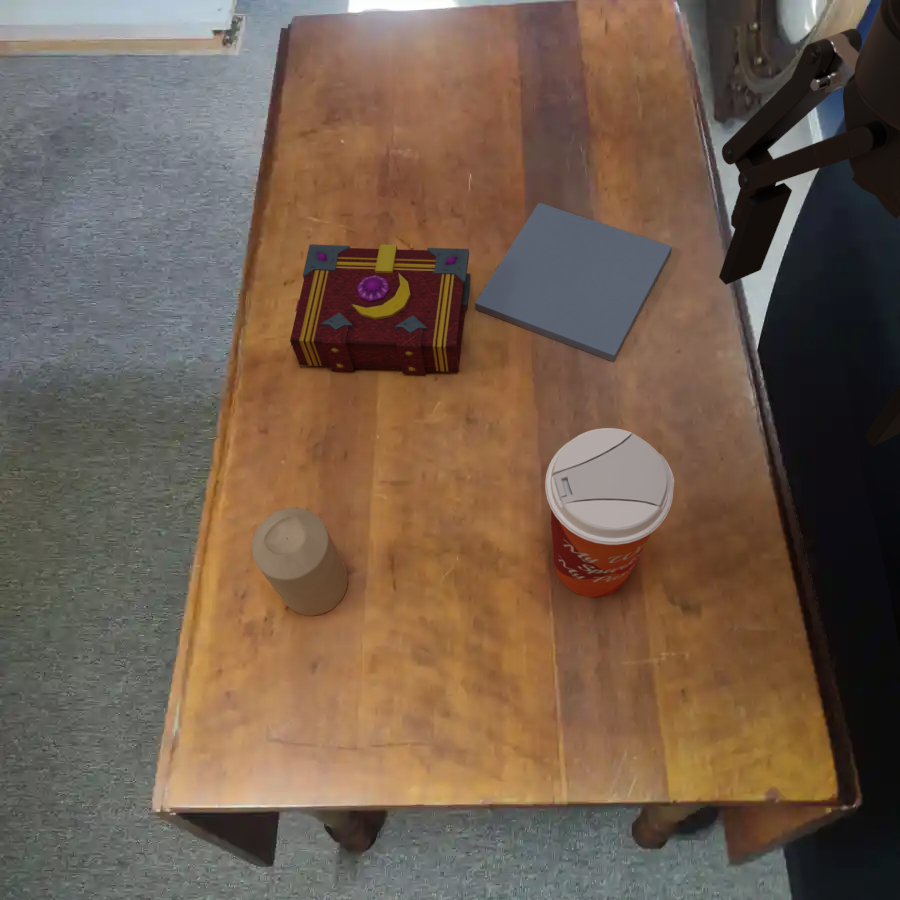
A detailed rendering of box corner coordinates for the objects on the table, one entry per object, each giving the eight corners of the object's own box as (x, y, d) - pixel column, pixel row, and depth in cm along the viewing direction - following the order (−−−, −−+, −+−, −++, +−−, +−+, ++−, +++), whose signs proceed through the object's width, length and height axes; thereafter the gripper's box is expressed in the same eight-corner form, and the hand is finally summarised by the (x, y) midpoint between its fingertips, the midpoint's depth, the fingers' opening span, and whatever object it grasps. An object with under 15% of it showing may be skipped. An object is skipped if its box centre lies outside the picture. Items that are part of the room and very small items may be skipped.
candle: (305, 540, 70) (275, 486, 61) (361, 570, 68) (338, 519, 59) (266, 596, 67) (229, 549, 59) (323, 629, 66) (294, 585, 57)
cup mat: (613, 362, 76) (614, 355, 75) (475, 309, 80) (474, 302, 79) (670, 253, 81) (672, 246, 81) (538, 209, 85) (538, 202, 84)
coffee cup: (555, 622, 65) (565, 548, 52) (528, 526, 69) (531, 435, 56) (660, 598, 65) (697, 519, 52) (627, 504, 69) (654, 408, 56)
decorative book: (460, 377, 76) (456, 345, 72) (286, 370, 78) (272, 337, 74) (471, 279, 82) (468, 243, 77) (308, 274, 83) (296, 239, 79)
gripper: (1365, 163, 27) (1015, 483, 46) (848, -153, 39) (734, 199, 58) (1200, 243, 26) (906, 541, 44) (715, -112, 38) (640, 237, 56)
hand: (808, 348), depth 51 cm, fingers open, 13 cm apart
